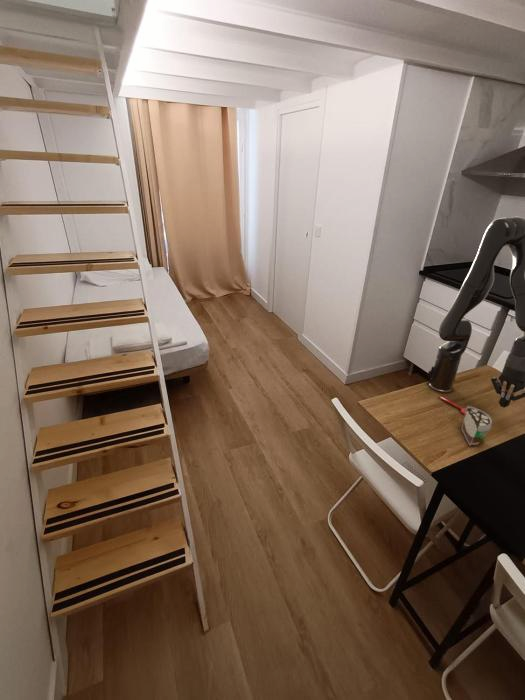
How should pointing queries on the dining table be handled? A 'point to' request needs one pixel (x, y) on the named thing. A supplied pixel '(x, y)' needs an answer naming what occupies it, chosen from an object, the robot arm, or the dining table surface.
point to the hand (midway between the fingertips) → (502, 406)
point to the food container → (475, 425)
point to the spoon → (463, 410)
